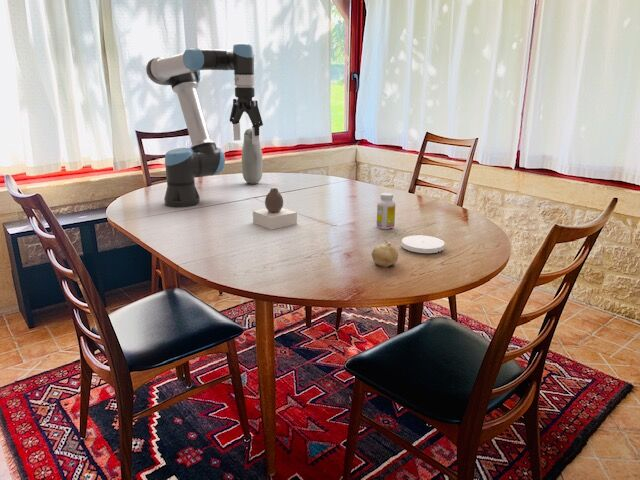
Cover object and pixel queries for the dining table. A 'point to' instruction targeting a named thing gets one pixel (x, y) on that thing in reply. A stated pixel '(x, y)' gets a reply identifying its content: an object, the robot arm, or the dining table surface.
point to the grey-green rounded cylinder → (251, 159)
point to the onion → (385, 254)
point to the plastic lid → (422, 244)
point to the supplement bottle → (386, 211)
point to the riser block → (274, 218)
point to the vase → (274, 201)
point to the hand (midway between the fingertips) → (246, 142)
